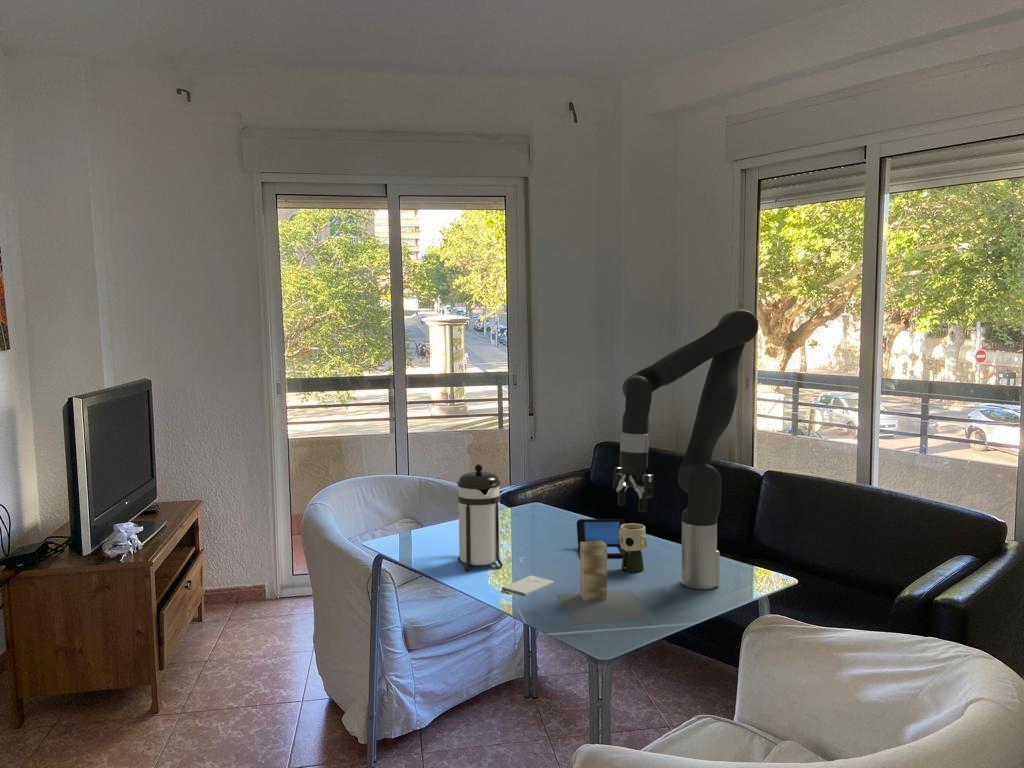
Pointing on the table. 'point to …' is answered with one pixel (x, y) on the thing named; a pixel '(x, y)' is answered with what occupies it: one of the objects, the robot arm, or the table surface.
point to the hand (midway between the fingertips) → (631, 508)
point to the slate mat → (605, 608)
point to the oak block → (593, 570)
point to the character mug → (632, 546)
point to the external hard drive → (527, 585)
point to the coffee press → (479, 518)
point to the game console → (601, 534)
